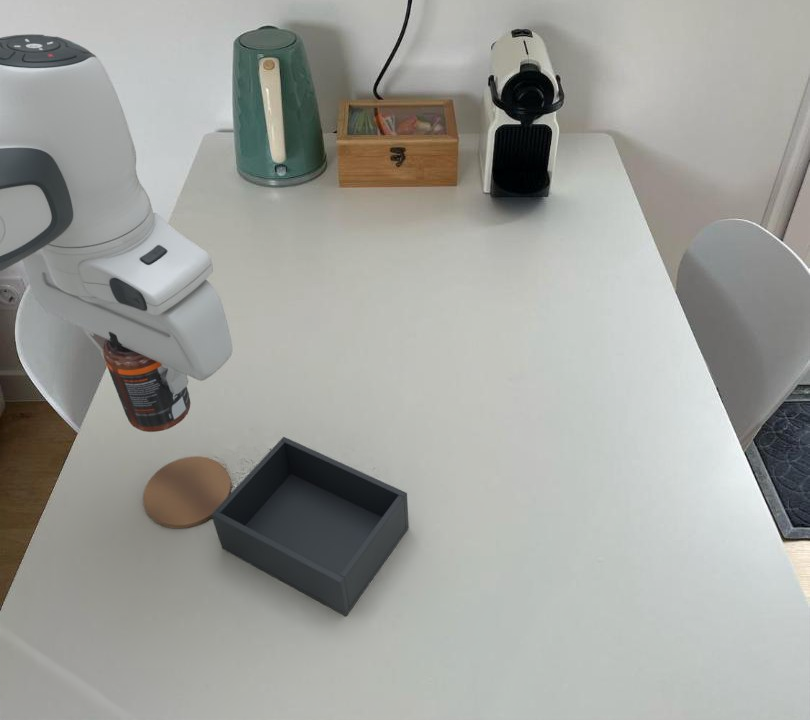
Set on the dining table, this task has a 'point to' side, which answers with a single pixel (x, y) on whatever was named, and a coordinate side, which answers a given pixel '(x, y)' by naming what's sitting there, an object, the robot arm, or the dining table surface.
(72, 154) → the robot arm
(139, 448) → the dining table surface
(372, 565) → the bin
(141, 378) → the supplement bottle
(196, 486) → the coaster
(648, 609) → the dining table surface
